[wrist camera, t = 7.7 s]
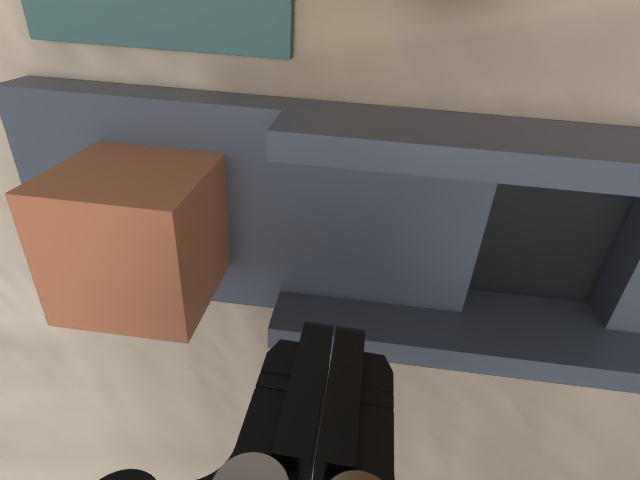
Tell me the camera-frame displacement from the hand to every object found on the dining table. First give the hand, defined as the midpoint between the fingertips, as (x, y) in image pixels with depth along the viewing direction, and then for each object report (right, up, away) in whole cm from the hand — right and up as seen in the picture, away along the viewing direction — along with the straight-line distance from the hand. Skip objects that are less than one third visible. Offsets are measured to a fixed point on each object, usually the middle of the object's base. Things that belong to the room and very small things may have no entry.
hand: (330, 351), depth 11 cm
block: (-7, +4, +7) cm, 11 cm away
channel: (+2, +4, +8) cm, 10 cm away
